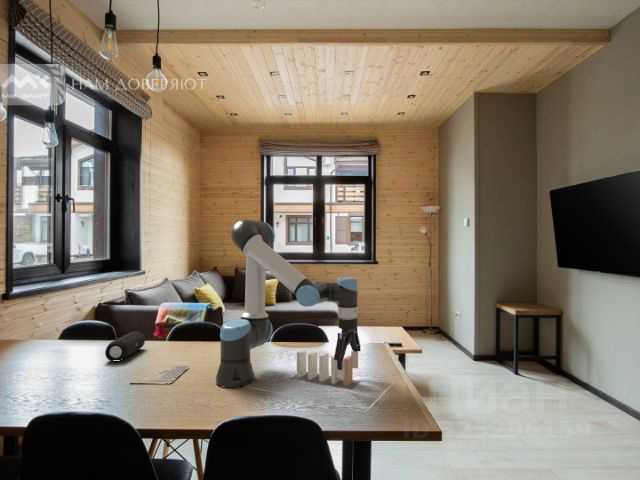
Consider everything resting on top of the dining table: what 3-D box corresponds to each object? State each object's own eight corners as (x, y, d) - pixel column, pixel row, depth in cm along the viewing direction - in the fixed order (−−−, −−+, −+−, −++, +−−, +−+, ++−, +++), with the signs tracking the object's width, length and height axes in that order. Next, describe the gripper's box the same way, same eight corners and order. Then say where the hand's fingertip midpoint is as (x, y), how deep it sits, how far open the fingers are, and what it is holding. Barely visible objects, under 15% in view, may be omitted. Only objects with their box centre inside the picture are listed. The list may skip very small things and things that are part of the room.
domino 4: (331, 383, 149) (331, 357, 150) (336, 379, 154) (336, 354, 154) (334, 383, 149) (334, 357, 149) (340, 380, 153) (340, 354, 153)
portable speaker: (125, 363, 177) (125, 341, 178) (102, 363, 177) (103, 342, 177) (146, 349, 203) (146, 330, 203) (127, 349, 202) (127, 330, 202)
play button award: (188, 366, 170) (170, 381, 150) (188, 369, 170) (170, 385, 150) (152, 365, 170) (129, 381, 150) (152, 369, 170) (129, 385, 150)
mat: (290, 379, 155) (290, 378, 155) (302, 372, 164) (302, 371, 164) (351, 390, 143) (351, 389, 143) (361, 382, 152) (361, 381, 152)
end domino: (343, 385, 147) (343, 359, 147) (348, 381, 151) (348, 355, 152) (347, 386, 146) (347, 359, 146) (352, 382, 151) (352, 356, 151)
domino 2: (307, 379, 154) (307, 354, 154) (313, 375, 159) (313, 351, 159) (311, 379, 153) (311, 354, 154) (317, 376, 158) (317, 351, 158)
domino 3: (319, 381, 152) (319, 355, 152) (325, 377, 156) (325, 352, 156) (323, 381, 151) (323, 356, 151) (328, 377, 156) (328, 353, 156)
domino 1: (296, 377, 157) (296, 352, 157) (303, 373, 161) (303, 349, 161) (300, 377, 156) (300, 352, 156) (306, 374, 160) (306, 350, 161)
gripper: (343, 324, 137) (343, 384, 136) (368, 313, 159) (368, 365, 158) (324, 322, 140) (324, 380, 140) (351, 312, 162) (351, 362, 162)
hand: (348, 372), depth 149 cm, fingers open, 13 cm apart
